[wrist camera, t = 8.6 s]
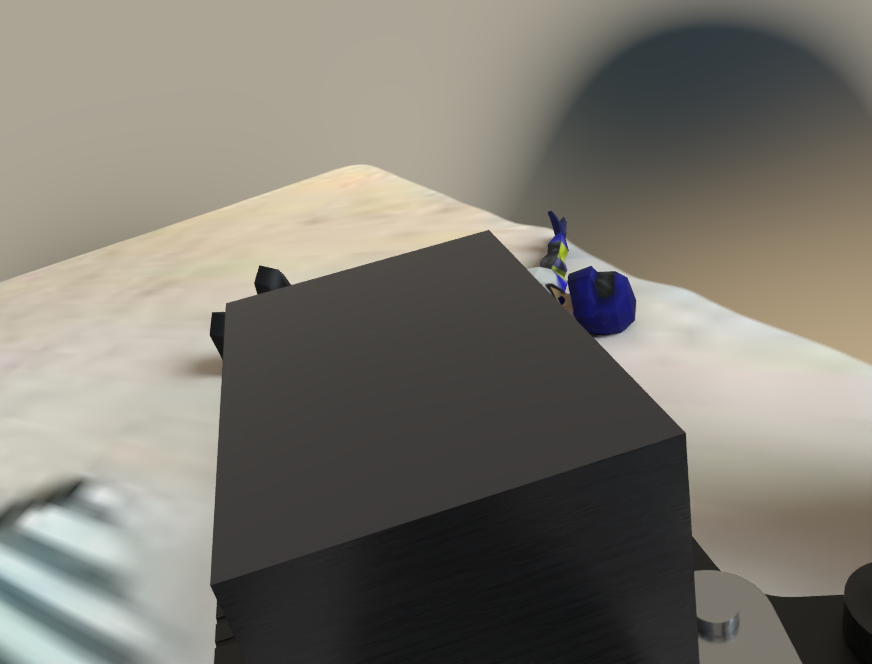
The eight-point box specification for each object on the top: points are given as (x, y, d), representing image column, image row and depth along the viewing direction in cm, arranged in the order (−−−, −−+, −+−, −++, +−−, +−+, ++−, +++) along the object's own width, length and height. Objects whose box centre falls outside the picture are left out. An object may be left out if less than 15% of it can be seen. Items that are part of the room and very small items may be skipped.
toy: (315, 209, 73) (636, 169, 63) (332, 266, 75) (642, 235, 66) (112, 411, 46) (621, 393, 36) (150, 488, 48) (633, 490, 39)
